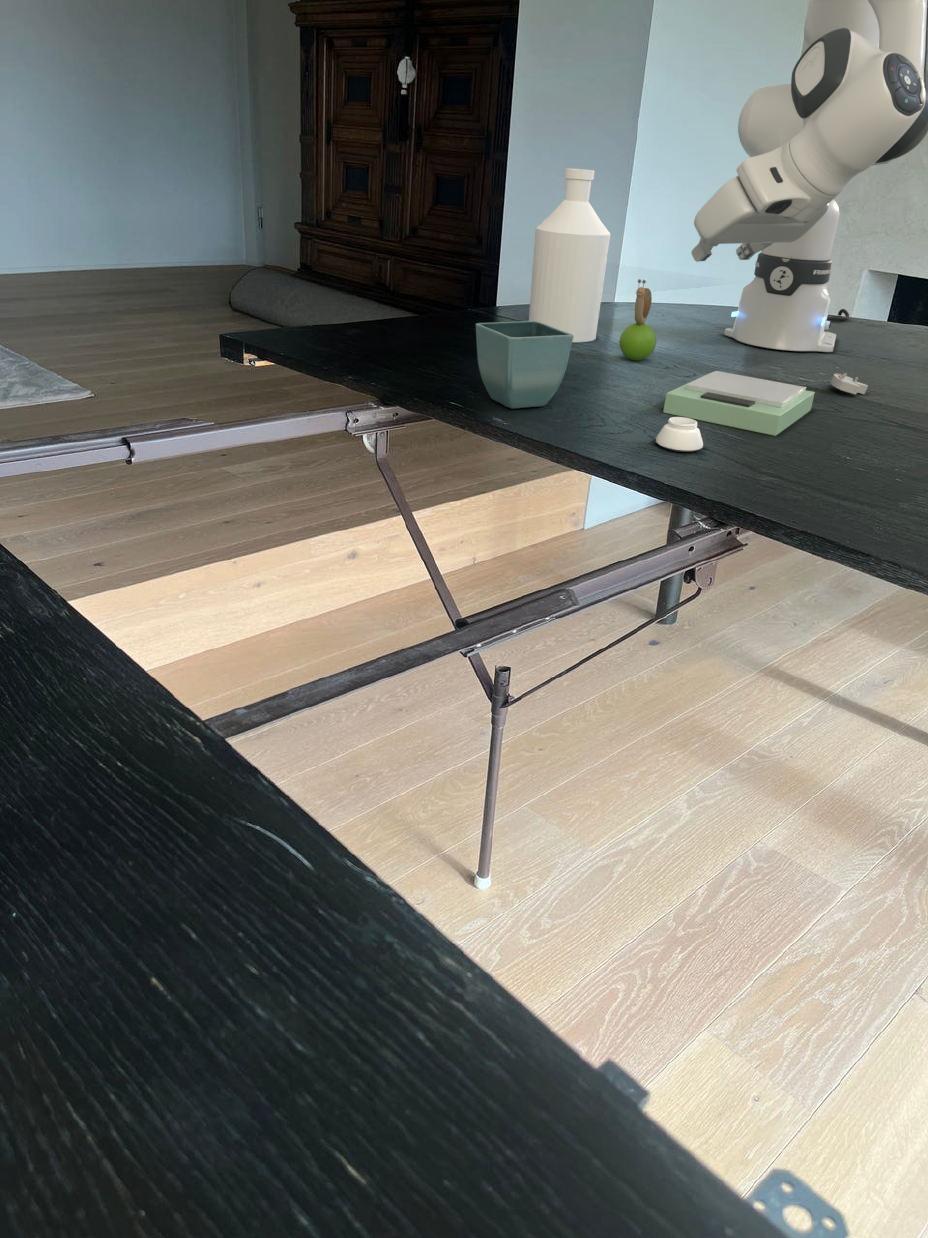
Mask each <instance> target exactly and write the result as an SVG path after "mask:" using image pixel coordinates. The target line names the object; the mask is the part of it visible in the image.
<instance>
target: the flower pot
mask: <svg viewBox="0 0 928 1238" xmlns="http://www.w3.org/2000/svg"><path fill="white" fill-rule="evenodd" d="M475 337H476V338H475V339H476V355H477V365H478V369H479V370H478V371H479V374H480V377H481V380H482V383H483V386H484V388H485V390H486V391H487V393H488V395H489V397H490V399H491V400H493V401H495V402H497V403H499V404H501V405H502V406H504V407H507V409H510V410H515V409H524V408H526V409H527V408H540V407H545V406H546V405H547V404H548V403H549V402H550V401H551V400H552V398H553V397H554V396H555V394H556V393H557V391H558V389H559V388H560V386H561V384H562V382H563V379H564V377H565V374H566V369H567V366H568V363H569V357H570V353H571V348H572V345H573V342H572V341H573V337H574V335H572V334H570V333H567V332H564V331H561V330H559V329H556V328H553V327H551V326H548V325H546V324H543V323H541V322H537V321H529V320H522V321H521V320H520V321H519V320H518V321H499V322H497V321H496V322H477V323H475Z"/></svg>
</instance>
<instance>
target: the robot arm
mask: <svg viewBox="0 0 928 1238" xmlns="http://www.w3.org/2000/svg"><path fill="white" fill-rule="evenodd" d="M803 36H804V40H805V42H806V44H807V46H808V47H807V48H806V50H805V51H804V52H803V53H802V54H801V56H800V57H799V58H798V60H797V62H796V63H795V65H794V67H793V69H792V72H791V81H790V83H783V84H777V85H770V86H765V87H760V88H757V89H756V90H755V91H753V93H752V94H751V95H750V96H749V97H748V99H747V100H746V101H745V103H744V105H743V107H742V108H741V112H740V114H739V118H738V123H737V134H738V140H739V142H740V145H741V147H742V149H743V151H744V152H745V153H746V154H747V156H749V157H748V158H746V159H744V160H743V161H742V162H741V163H740V164H739V165H738V166H737V167H736V169H735V170H736V173H737V176H734V177H733V178H731V179H729V180H727V181H726V182H725V183H723V185H721V187H720V188H718V190H717V191H716V192H714V194H713V195H712V196H711V197H710V198H708V199H707V201H706V202H705V203H704V205H702V207H701V208H700V209H699V210H698V212H697V213H695V217H694V220H693V225H694V228H695V230H696V232H697V234H698V236H699V242H698V243H697V244H696V245H695V246H694V247H693V249H692V250H691V256H692V258H693V260H694V261H695V262H697V263H698V262H706V261H707V259H709V258H710V257H711V256H712V255H713V252H712V250H713V248H714V247H718V245H726V244H727V245H728V244H729V245H731V244H733V245H734V244H735V245H737V244H740V246H738V247H737V248H736V250H735V254H736V256H738V259H739V260H740V261H748V260H750V259H751V258H752V257H753V256H755V255H756V254H757V253H758V254H757V257H756V261H755V265H754V266H755V268H754V273H753V274H754V276H755V277H754V278H753V280H752V281H751V282H749V283H748V284H747V285H745V286H744V287H743V288H742V291H741V295H740V298H739V302H738V307H737V310H736V311H731V314H730V315H731V318H734V317H735V319H734V324H733V327H728V328H727V327H726V328H725V329H724V332H723V335H724V336H726V337H730V338H733V339H735V340H736V341H738V342H740V343H743V344H746V345H750V346H755V347H760V348H766V349H772V350H779V351H789V352H790V351H791V352H819V353H820V352H821V353H833V352H834V350H835V349H834V348H835V344H836V339H837V334H836V333H833V332H830V331H826V330H829V329H830V328H831V326H832V323H831V322H844V321H847V320H849V318H850V314H849V312H848V310H846V309H845V308H841V309H840V310H839V311H838V312H837V317H836V316H829V312H830V309H831V308H830V307H831V301H832V299H831V298H830V294H829V291H828V283H829V282H830V277H831V276H830V275H831V273H832V263H833V262H832V259H831V256H832V251H833V247H834V242H835V238H836V233H837V229H838V226H839V221H840V215H841V214H840V208H839V205H838V203H837V201H836V200H835V199H836V197H838V196H839V195H840V194H841V193H842V192H844V190H845V188H846V186H848V184H849V183H850V181H851V180H852V179H853V178H854V177H856V176H857V175H858V174H860V173H862V172H864V171H866V170H868V169H870V168H871V167H873V166H881V165H886V164H890V162H892V161H893V160H896V159H898V158H900V157H902V156H904V155H905V156H906V154H908V153H909V152H911V151H912V150H914V149H915V148H916V147H917V146H919V144H921V142H922V141H923V140H924V139H925V137H926V135H928V0H808V6H807V11H806V16H805V21H804V27H803ZM843 314H844V316H842V315H843Z"/></svg>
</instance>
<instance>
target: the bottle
mask: <svg viewBox="0 0 928 1238" xmlns="http://www.w3.org/2000/svg"><path fill="white" fill-rule="evenodd" d="M595 172H596V171H595V170H593V169H582V168H569V167H568V168H567V167H566V168H564V175H563V177H564V179H565V186H564V187H565V188H564V199H563V200H562V201H561V203H560V204H558V205H557V206H556V208H554V210H553V211H552V212H551V213H550V214H549V215H547V217H546V218H545V219H544V220H543V221H542V222H540V223H539V224H538V225H537V226H536V227H535V233H534V235H535V236H534V246H533V247H534V248H533V260H532V273H531V286H530V298H529V310H528V321H537V322H541V323H543V324H546V325H548V326H551V327H553V328H556V329H559V330H561V331H564V332H567V333H570V334H572V335H574V337H573V341H572V343H587V342H594V341H595V340H596V339H597V331H598V324H599V317H600V311H601V303H602V298H603V289H604V282H605V276H606V269H607V263H608V262H607V261H608V254H609V248H610V243H611V242H610V240H611V236H612V235H611V233H610V231H609V230H608V228H607V227H606V226H605V224H604V223H603V222H602V221H601V219H600V217H599V216H598V214H597V213H596V211H595V209H594V208H593V206H592V205H591V203H590V195H591V188H592V182H593V181H594V179H595Z"/></svg>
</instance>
